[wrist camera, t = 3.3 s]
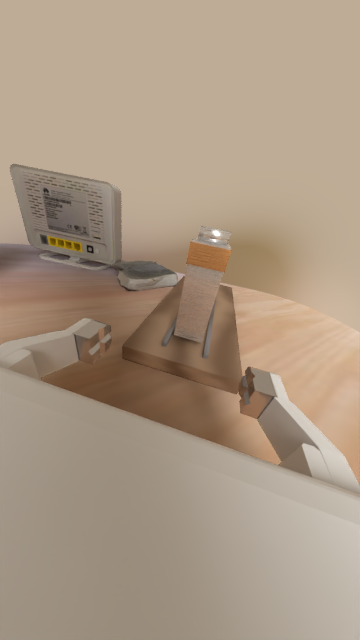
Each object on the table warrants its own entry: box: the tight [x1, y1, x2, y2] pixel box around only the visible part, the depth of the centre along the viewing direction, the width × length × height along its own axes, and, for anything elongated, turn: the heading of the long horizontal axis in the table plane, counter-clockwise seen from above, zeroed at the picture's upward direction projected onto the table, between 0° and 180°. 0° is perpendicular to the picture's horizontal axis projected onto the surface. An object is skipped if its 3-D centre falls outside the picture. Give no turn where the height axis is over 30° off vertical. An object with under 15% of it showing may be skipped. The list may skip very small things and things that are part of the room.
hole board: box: [122, 276, 242, 394], centre depth 34 cm, size 14×34×3 cm, turn 166°
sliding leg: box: [174, 226, 231, 343], centre depth 19 cm, size 4×4×13 cm
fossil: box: [112, 261, 178, 291], centre depth 46 cm, size 15×16×4 cm
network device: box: [10, 164, 122, 270], centre depth 44 cm, size 26×9×20 cm, turn 81°
